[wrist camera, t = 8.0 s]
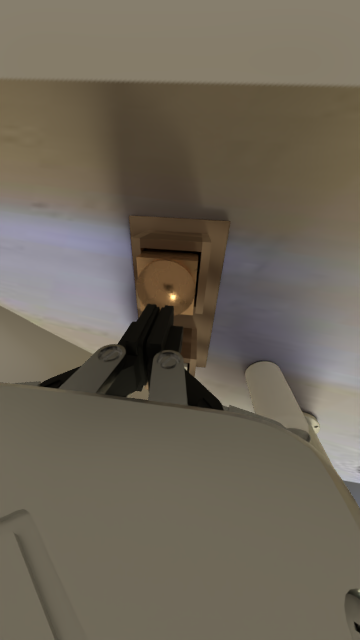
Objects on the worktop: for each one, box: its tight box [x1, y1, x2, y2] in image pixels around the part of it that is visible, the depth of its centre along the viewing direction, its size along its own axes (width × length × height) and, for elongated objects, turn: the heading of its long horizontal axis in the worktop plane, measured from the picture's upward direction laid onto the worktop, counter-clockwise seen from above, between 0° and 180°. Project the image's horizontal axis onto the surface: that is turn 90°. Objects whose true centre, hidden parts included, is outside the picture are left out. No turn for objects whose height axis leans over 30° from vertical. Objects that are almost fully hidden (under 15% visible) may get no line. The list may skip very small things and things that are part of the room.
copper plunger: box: [136, 248, 198, 316], centre depth 18 cm, size 5×5×8 cm
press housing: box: [129, 216, 230, 390], centre depth 25 cm, size 24×12×8 cm, turn 177°
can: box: [245, 361, 311, 443], centre depth 29 cm, size 6×6×12 cm
